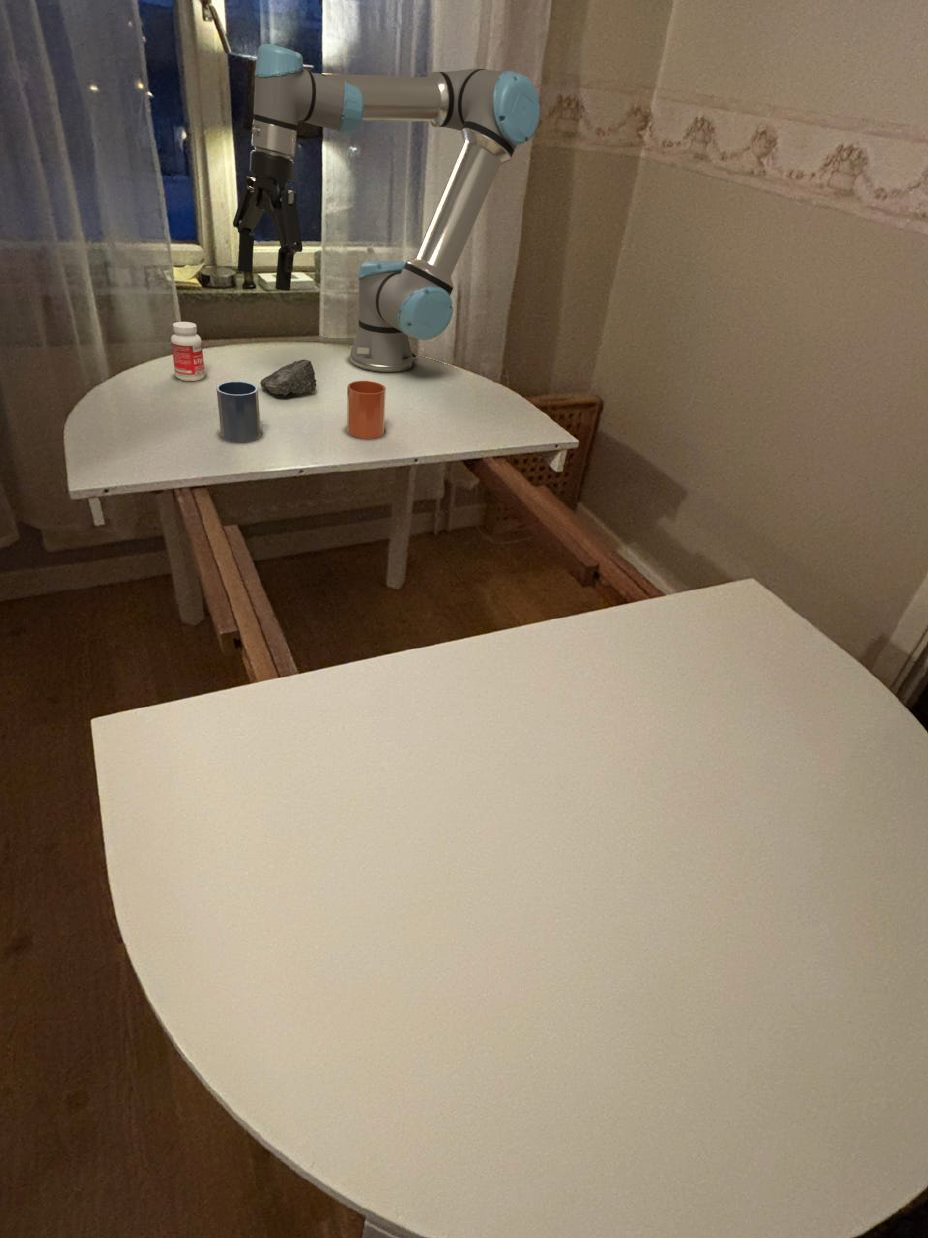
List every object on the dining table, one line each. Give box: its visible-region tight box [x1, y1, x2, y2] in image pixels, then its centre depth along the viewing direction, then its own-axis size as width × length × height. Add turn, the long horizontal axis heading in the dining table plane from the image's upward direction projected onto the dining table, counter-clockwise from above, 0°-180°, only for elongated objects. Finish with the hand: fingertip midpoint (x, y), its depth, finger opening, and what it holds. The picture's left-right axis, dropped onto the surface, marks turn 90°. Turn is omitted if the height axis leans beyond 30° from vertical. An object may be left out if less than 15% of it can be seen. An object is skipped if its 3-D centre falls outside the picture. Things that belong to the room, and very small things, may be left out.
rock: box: [260, 359, 317, 396], centre depth 158 cm, size 9×11×6 cm
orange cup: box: [346, 380, 387, 440], centre depth 145 cm, size 7×7×9 cm
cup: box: [216, 380, 262, 444], centre depth 137 cm, size 7×7×9 cm
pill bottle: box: [170, 321, 206, 382], centre depth 158 cm, size 6×6×11 cm
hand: (263, 280), depth 142 cm, fingers open, 13 cm apart
